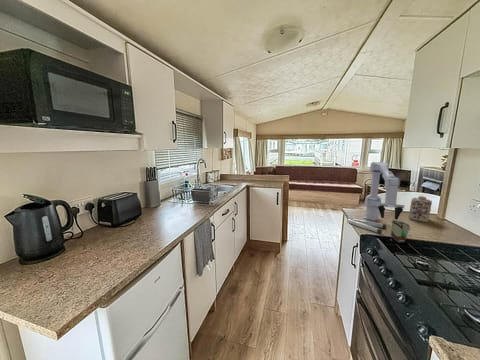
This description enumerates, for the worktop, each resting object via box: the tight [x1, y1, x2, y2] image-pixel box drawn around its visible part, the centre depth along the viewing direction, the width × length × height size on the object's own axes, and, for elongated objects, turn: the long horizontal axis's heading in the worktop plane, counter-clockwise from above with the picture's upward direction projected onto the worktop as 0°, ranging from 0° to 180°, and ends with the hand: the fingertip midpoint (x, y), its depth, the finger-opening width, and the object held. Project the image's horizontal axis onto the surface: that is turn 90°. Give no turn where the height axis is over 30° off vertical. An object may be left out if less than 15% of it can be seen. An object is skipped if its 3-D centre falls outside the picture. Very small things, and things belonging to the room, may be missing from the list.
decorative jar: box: [408, 195, 433, 223], centre depth 159 cm, size 12×12×18 cm
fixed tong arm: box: [346, 218, 383, 235], centre depth 139 cm, size 2×22×3 cm, turn 32°
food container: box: [390, 219, 411, 244], centre depth 122 cm, size 12×6×10 cm, turn 168°
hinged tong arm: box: [349, 217, 387, 229], centre depth 144 cm, size 22×2×3 cm, turn 62°
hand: (389, 218), depth 128 cm, fingers open, 7 cm apart
